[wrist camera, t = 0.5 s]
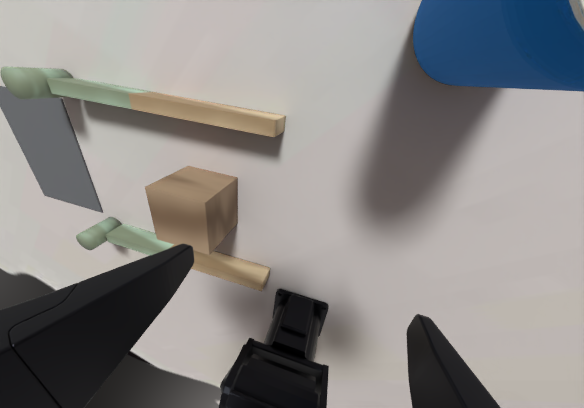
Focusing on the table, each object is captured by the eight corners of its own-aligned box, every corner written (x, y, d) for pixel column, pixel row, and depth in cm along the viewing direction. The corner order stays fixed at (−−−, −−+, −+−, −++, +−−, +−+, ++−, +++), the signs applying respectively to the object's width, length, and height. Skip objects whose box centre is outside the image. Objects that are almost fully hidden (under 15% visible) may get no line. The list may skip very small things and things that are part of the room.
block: (237, 222, 25) (209, 255, 20) (193, 210, 26) (157, 239, 21) (237, 177, 22) (204, 202, 17) (188, 165, 23) (144, 187, 18)
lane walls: (268, 278, 28) (256, 306, 24) (110, 229, 32) (80, 247, 28) (286, 107, 18) (268, 114, 14) (52, 67, 22) (-5, 64, 18)
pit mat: (109, 209, 31) (102, 212, 30) (52, 192, 33) (44, 195, 32) (71, 98, 24) (60, 98, 23) (1, 84, 26) (-11, 84, 25)
